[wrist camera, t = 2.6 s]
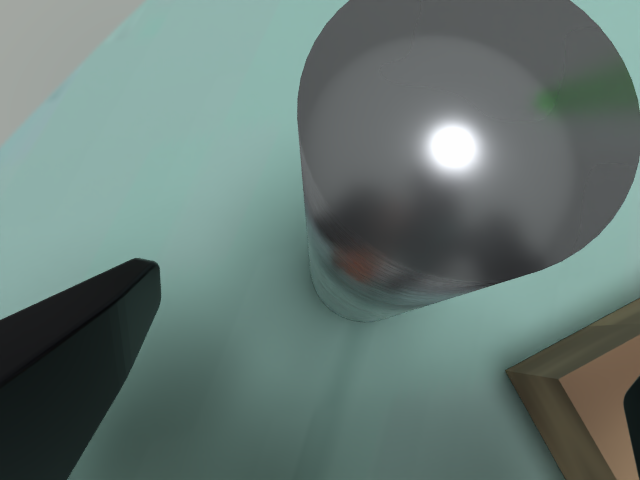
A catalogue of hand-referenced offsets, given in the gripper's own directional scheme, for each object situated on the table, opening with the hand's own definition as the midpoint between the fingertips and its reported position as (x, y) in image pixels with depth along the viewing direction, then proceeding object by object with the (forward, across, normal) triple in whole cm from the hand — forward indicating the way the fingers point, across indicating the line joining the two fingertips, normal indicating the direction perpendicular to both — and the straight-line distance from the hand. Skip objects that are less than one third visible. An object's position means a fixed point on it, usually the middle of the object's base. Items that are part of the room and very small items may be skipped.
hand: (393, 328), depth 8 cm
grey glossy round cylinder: (+9, 0, +5) cm, 10 cm away
